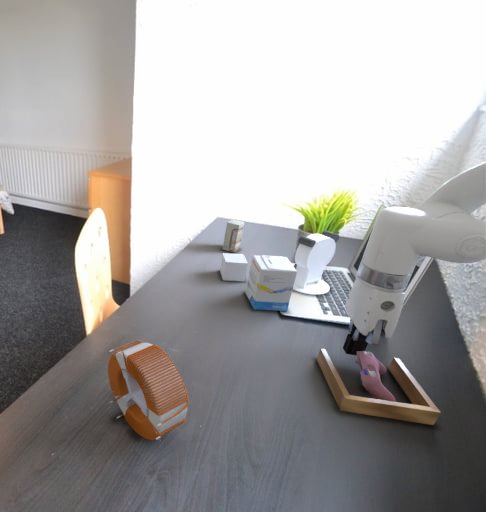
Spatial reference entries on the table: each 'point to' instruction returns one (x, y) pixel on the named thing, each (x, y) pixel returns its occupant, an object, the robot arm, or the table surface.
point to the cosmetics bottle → (233, 235)
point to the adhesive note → (233, 267)
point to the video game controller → (373, 375)
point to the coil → (147, 389)
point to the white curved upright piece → (313, 262)
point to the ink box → (270, 282)
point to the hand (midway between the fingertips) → (352, 352)
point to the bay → (416, 412)
